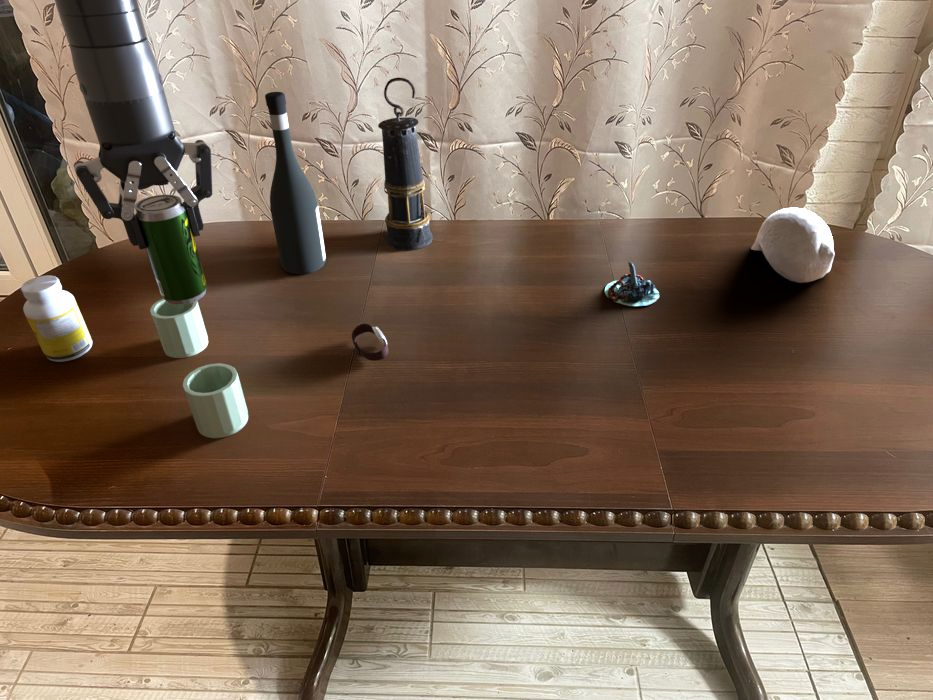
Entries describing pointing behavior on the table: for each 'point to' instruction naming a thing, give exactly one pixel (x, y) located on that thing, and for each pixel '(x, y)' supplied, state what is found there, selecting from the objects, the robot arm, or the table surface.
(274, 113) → the wine bottle
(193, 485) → the table surface
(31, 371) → the table surface
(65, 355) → the pill bottle
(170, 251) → the beer can
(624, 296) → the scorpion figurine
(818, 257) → the seashell
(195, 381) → the near pot
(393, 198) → the lantern
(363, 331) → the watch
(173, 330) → the far pot
